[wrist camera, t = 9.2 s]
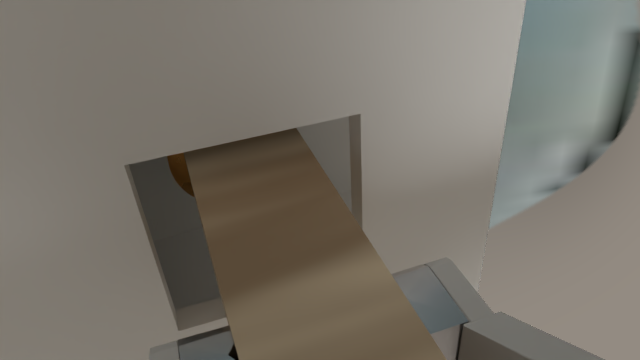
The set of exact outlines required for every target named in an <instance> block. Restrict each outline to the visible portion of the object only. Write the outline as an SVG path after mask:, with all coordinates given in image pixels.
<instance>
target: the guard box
mask: <svg viewBox="0 0 640 360" xmlns="http://www.w3.org/2000/svg"><path fill="white" fill-rule="evenodd" d="M525 4H526V0H0V360H149V352H150V348H152V347H155V346H159V345H162V344H166V343H169V342H172V341H176V340H179V339H182V338H186V337H189V336H193V335H196V334H200V333H204V332H207V331H211V330H214V329H218V328H221V327H225V326H228V321H227V318H226V314H225V310H224V306H223V303H222V299H221V295H220V291H219V288H218V284H217V280H216V276H215V272H214V269H213V265H212V261H211V257H210V254H209V250H208V246H207V242H206V239H205V235H204V231H203V227H202V223H201V220H200V216H199V212H198V208H197V204H196V200H195V197H193V196H191V195H189V194H188V193H187V192H185V191H184V190H183V189H182V188H181V187H180V186H179V185H178V183H177V182H176V181H175V179H174V177H173V175H172V173H171V171H170V168H169V163H168V158H167V156H170V155H174V154H179V153H183V152H188V151H192V150H197V149H201V148H206V147H211V146H215V145H220V144H224V143H229V142H233V141H238V140H243V139H247V138H252V137H256V136H261V135H265V134H270V133H275V132H279V131H284V130H288V129H293V128H297V130H298V131H299V133H300V135H301V136H302V138H303V139H304V141H305V142H306V144H307V145H308V147H309V148H310V150H311V151H312V153H313V155H314V156H315V158H316V159H317V161H318V162H319V164H320V165H321V167H322V168H323V170H324V171H325V173H326V175H327V176H328V178H329V179H330V181H331V182H332V184H333V185H334V187H335V188H336V190H337V191H338V193H339V195H340V196H341V198H342V199H343V201H344V202H345V204H346V205H347V207H348V208H349V210H350V212H351V213H352V215H353V216H354V218H355V219H356V221H357V222H358V224H359V225H360V227H361V228H362V230H363V232H364V233H365V235H366V236H367V238H368V239H369V241H370V242H371V244H372V245H373V247H374V248H375V250H376V252H377V253H378V255H379V256H380V258H381V259H382V261H383V262H384V264H385V265H386V267H387V268H388V270H389V272H390V273H391V274H393V273H396V272H399V271H402V270H405V269H408V268H411V267H415V266H418V265H421V264H426V263H429V262H432V261H435V260H438V259H442V258H445V257H447V258H449V259H451V260H452V261H453V263H454V264H455V265H456V266H457V268H458V269H459V270H460V271H461V273H462V274H463V275H464V276H465V278H466V279H467V280H468V281H469V283H470V284H471V285H472V286H473V288H474V289H475V290H476V291H477V293H478V289H479V283H480V277H481V271H482V265H483V259H484V253H485V247H486V240H487V235H488V229H489V222H490V216H491V210H492V204H493V198H494V192H495V186H496V180H497V174H498V168H499V162H500V156H501V150H502V144H503V138H504V131H505V125H506V119H507V113H508V107H509V101H510V95H511V89H512V83H513V77H514V71H515V65H516V59H517V53H518V47H519V41H520V34H521V28H522V22H523V16H524V10H525Z"/></svg>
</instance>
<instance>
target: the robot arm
mask: <svg viewBox="0 0 640 360" xmlns="http://www.w3.org/2000/svg"><path fill="white" fill-rule="evenodd" d="M391 275H392V276H393V278H394V279H395V281H396V282H397V284H398V285H399V287H400V288H401V290H402V292H403V293H404V295H405V296H406V298H407V299H408V301H409V302H410V304H411V305H412V307H413V309H414V310H415V312H416V313H417V315H418V316H419V318H420V319H421V321H422V322H423V324H424V325H425V327H426V329H427V330H428V332H429V333H430V335H431V336H432V338H433V339H434V341H435V342H436V344H437V345H438V347H439V349H440V350H441V352H442V353H443V355H444V356H445V358H446V359H447V360H605V359H602V358H600V357H598V356H596V355H594V354H591V353H589V352H587V351H585V350H583V349H581V348H578V347H576V346H574V345H572V344H570V343H568V342H565V341H563V340H561V339H559V338H557V337H555V336H553V335H550V334H548V333H546V332H544V331H542V330H539V329H537V328H535V327H533V326H531V325H529V324H527V323H524V322H522V321H520V320H518V319H516V318H514V317H511V316H509V315H507V314H505V313H502V312H498V313H495V314H494V313H493V311H492V310H491V309H490V308H489V306H488V305H487V304H486V303H485V301H484V300H483V299H482V298H481V296H480V295H479V294H478V293H477V291H476V290H475V289H474V288H473V286H472V285H471V284H470V283H469V281H468V280H467V279H466V278H465V276H464V275H463V274H462V273H461V271H460V270H459V269H458V268H457V266H456V265H455V264H454V263H453V261H452V260H451V259H449V258H447V257H445V258H442V259H438V260H435V261H432V262H429V263H426V264H421V265H418V266H415V267H411V268H408V269H405V270H402V271H399V272H396V273H393V274H391ZM149 360H238V356H237V352H236V348H235V344H234V340H233V336H232V333H231V329H230V325H228V326H225V327H221V328H218V329H214V330H211V331H207V332H204V333H200V334H196V335H193V336H189V337H186V338H182V339H179V340H176V341H172V342H169V343H166V344H162V345H159V346H155V347H152V348H150V352H149Z"/></svg>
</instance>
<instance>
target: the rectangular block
mask: <svg viewBox="0 0 640 360" xmlns="http://www.w3.org/2000/svg"><path fill="white" fill-rule="evenodd" d="M183 153H184V157H185V161H186V165H187V169H188V173H189V177H190V180H191V184H192V188H193V192H194V196H195V200H196V204H197V208H198V212H199V216H200V220H201V223H202V227H203V231H204V235H205V239H206V242H207V246H208V250H209V254H210V257H211V261H212V265H213V269H214V272H215V276H216V280H217V284H218V288H219V291H220V295H221V299H222V303H223V306H224V310H225V314H226V318H227V321H228V325H230V329H231V333H232V336H233V340H234V344H235V348H236V352H237V356H238V360H447V359H446V358H445V356H444V355H443V353H442V352H441V350H440V349H439V347H438V345H437V344H436V342H435V341H434V339H433V338H432V336H431V335H430V333H429V332H428V330H427V329H426V327H425V325H424V324H423V322H422V321H421V319H420V318H419V316H418V315H417V313H416V312H415V310H414V309H413V307H412V305H411V304H410V302H409V301H408V299H407V298H406V296H405V295H404V293H403V292H402V290H401V288H400V287H399V285H398V284H397V282H396V281H395V279H394V278H393V276H392V275H391V273H390V272H389V270H388V268H387V267H386V265H385V264H384V262H383V261H382V259H381V258H380V256H379V255H378V253H377V252H376V250H375V248H374V247H373V245H372V244H371V242H370V241H369V239H368V238H367V236H366V235H365V233H364V232H363V230H362V228H361V227H360V225H359V224H358V222H357V221H356V219H355V218H354V216H353V215H352V213H351V212H350V210H349V208H348V207H347V205H346V204H345V202H344V201H343V199H342V198H341V196H340V195H339V193H338V191H337V190H336V188H335V187H334V185H333V184H332V182H331V181H330V179H329V178H328V176H327V175H326V173H325V171H324V170H323V168H322V167H321V165H320V164H319V162H318V161H317V159H316V158H315V156H314V155H313V153H312V151H311V150H310V148H309V147H308V145H307V144H306V142H305V141H304V139H303V138H302V136H301V135H300V133H299V131H298V130H297V128H293V129H288V130H284V131H279V132H275V133H270V134H265V135H261V136H256V137H252V138H247V139H243V140H238V141H233V142H229V143H224V144H220V145H215V146H211V147H206V148H201V149H197V150H192V151H188V152H183Z"/></svg>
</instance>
